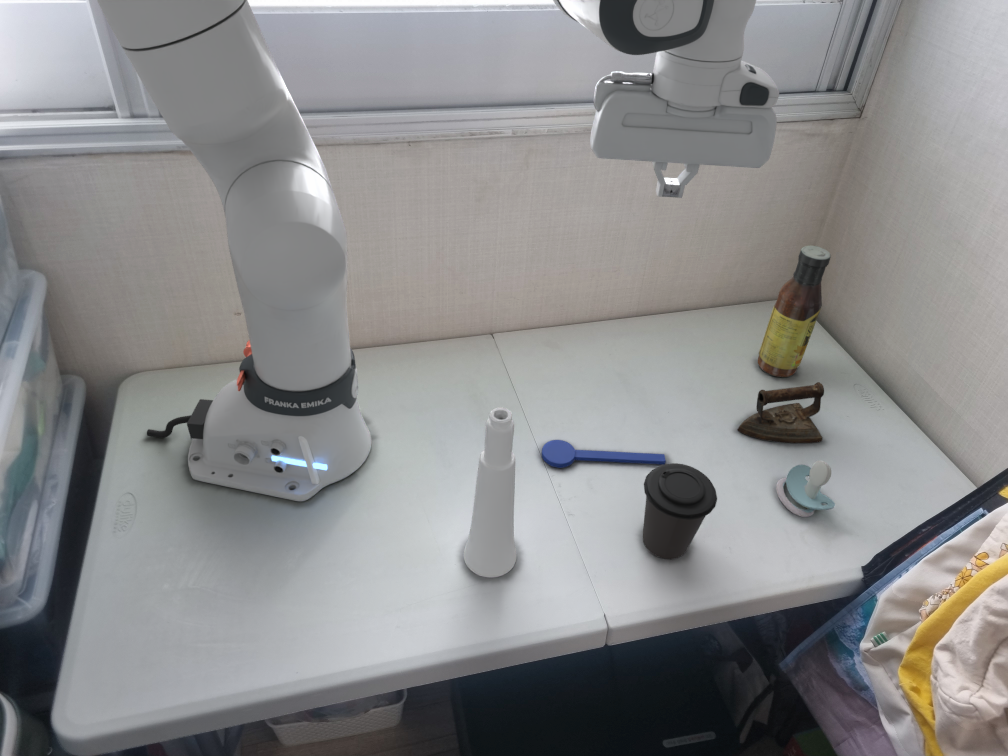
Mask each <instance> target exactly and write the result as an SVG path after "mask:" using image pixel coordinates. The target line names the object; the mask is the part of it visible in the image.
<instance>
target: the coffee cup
mask: <svg viewBox="0 0 1008 756" xmlns="http://www.w3.org/2000/svg"><path fill="white" fill-rule="evenodd" d="M643 490H644V494H645V504H644V505H645V506H644V516H643V527H642V543H643V545H644V547H645V549H646V550H648V552H649V553H651V554H652V555H654V556H655V557H657V558H660V559H664V560H675V559H679V558H681V557H682V556H684V555H685V553H686V552H687V551H688V549H689V547H690V545H691V543H692V542H693V540H694V538H695V536H696V535H697V532H698V531H699V529H700V527H701V526H702V524H703V522H704V520H705V518H706V517H707V516H708V515H710V514H711V513H712V511H713V510H714V509H715V508H716V506H717V501H718V496H717V495H718V494H717V490H716V488H715V487H714V485H713V482H712V481H711V480H710V478H709V477H708V475H706V474H704V472H702V471H700V470H699V469H697V468H695V467H693V466H691V465H687V464H683V463H677V462H676V463H675V462H671V463H665V464H664V465H662V464H660V465H658V466H657V467H655V468H653V469H651V471H649V472H648V473H647V475H646V476H645V479H644V482H643Z"/></svg>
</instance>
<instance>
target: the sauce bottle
mask: <svg viewBox="0 0 1008 756" xmlns="http://www.w3.org/2000/svg"><path fill="white" fill-rule="evenodd" d="M831 258H832V255H831V252H830V251H828V250H827V249H825V248H823V247H820V246H818V245H805V246H803V247H802V248H801V249H800V251H799V254H798V258H797V260H798V261H797V265H796V268H795V270H794V272H793V275H792V277H791V278H790V279H789V280H788V281H786V282H785V283H784V284H783V285H782V286H781V287H780V289H779V292H778V295H777V298H776V301H775V303H774V305H773V307H772V311H771V313H770V316H769V319H768V324H767V326H766V330H765V332H764V336H763V338H762V342H761V344H760V345H761V346H760V348H759V350H758V357H757V364H758V366H759V368H760V369H761V370H762V371H763V372H765V373H766V374H769V375H771V376H772V377H773V376H774V377H778V378H789V377H791V376H793V375H794V374H795V373H796V372H797V370H798V368H799V367H800V365H801V364H802V361H803V358H804V355H805V352H806V350H807V347H808V344H809V342H810V339H811V337H812V334H813V331H814V329H815V326H816V323H817V320H818V318H819V315H820V313H821V309H822V307H823V303H822V301H823V300H822V296H823V295H822V281H823V276H824V274H825V272H826V269H827V267H828V266H829V264H830V261H831Z"/></svg>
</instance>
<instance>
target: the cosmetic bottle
mask: <svg viewBox="0 0 1008 756" xmlns="http://www.w3.org/2000/svg"><path fill="white" fill-rule="evenodd" d="M484 433H485V434H484V449H483V450H482V451H481V452H480V455H479V458H478V467H477V475H476V482H475V491H474V499H473V500H474V501H473V507H472V515H471V520H470V521H471V523H470V527H469V532H468V535H467V540H466V544H465V547H464V549H463V561H464V563H465V565H466V567H467V568H468V569H469V570H470V571H471V572H473V573H474V574H475V575H477V576H480V577H483V578H490V579H491V578H492V579H493V578H498V577H502V576H504V575H506V574H507V573H509V572H510V571H511V570H513V568H514V566H515V565H516V563H517V557H518V553H517V549H516V541H515V494H516V493H515V491H516V490H515V489H516V456H515V454H514V452H513V447H514V445H513V444H514V435H515V434H514V433H515V422H514V419H513V413H512V411H511V410H510V409H508V408H507V407H502V406H501V407H500V406H498V407H495V408H492V409H491V410H490V411H489V413H488V418H487V420H486V422H485V432H484Z"/></svg>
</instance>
